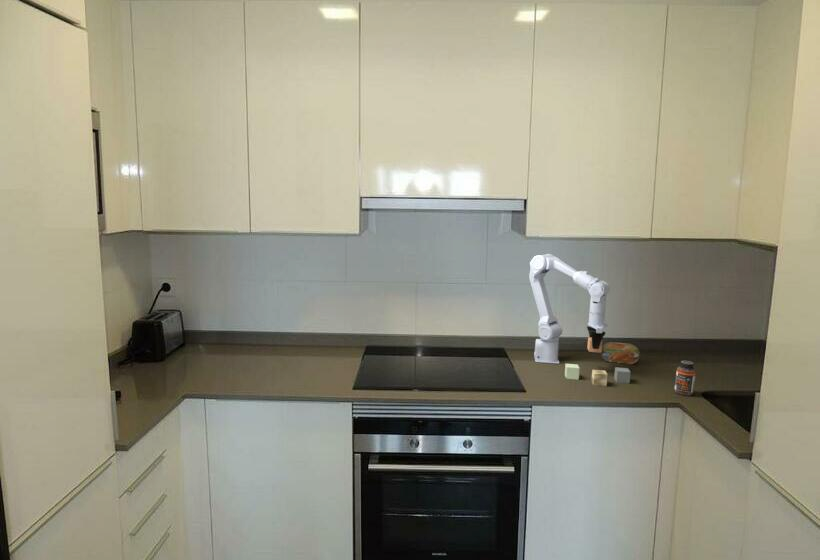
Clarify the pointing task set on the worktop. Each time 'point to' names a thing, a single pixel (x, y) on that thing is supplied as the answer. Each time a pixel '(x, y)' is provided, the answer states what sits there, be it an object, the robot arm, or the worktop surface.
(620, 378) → the slate block
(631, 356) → the tin
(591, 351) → the terracotta block
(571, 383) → the worktop surface
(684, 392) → the supplement bottle
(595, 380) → the maple block
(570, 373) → the sage block
